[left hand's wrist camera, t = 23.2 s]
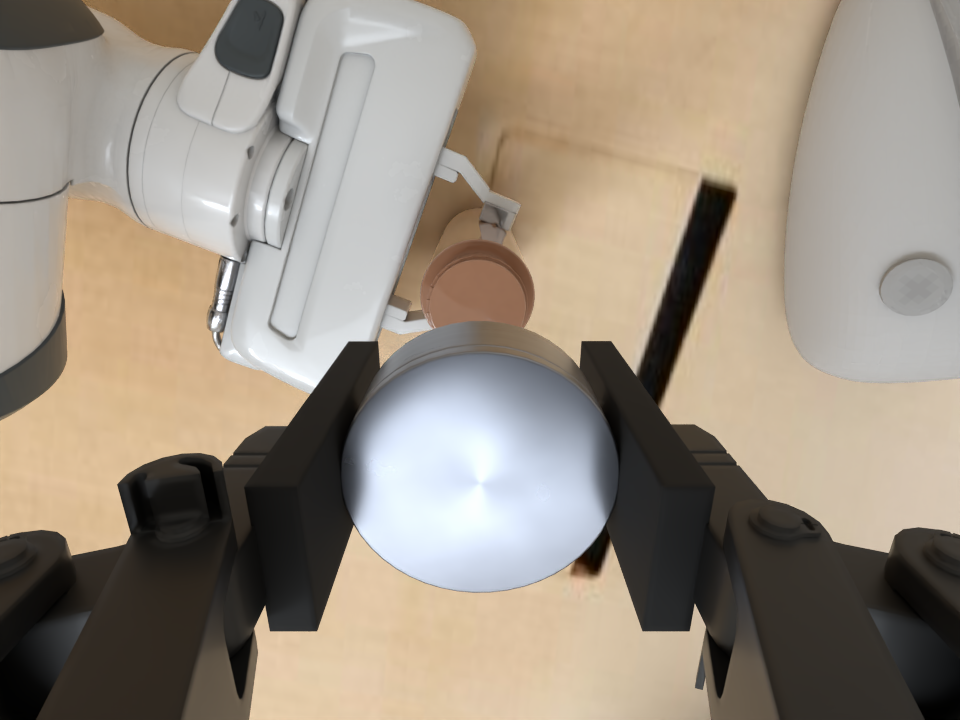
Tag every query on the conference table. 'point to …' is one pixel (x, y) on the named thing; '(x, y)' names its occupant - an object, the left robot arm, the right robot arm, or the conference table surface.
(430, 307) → the jar
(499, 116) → the conference table surface
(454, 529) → the lid
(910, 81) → the projector
